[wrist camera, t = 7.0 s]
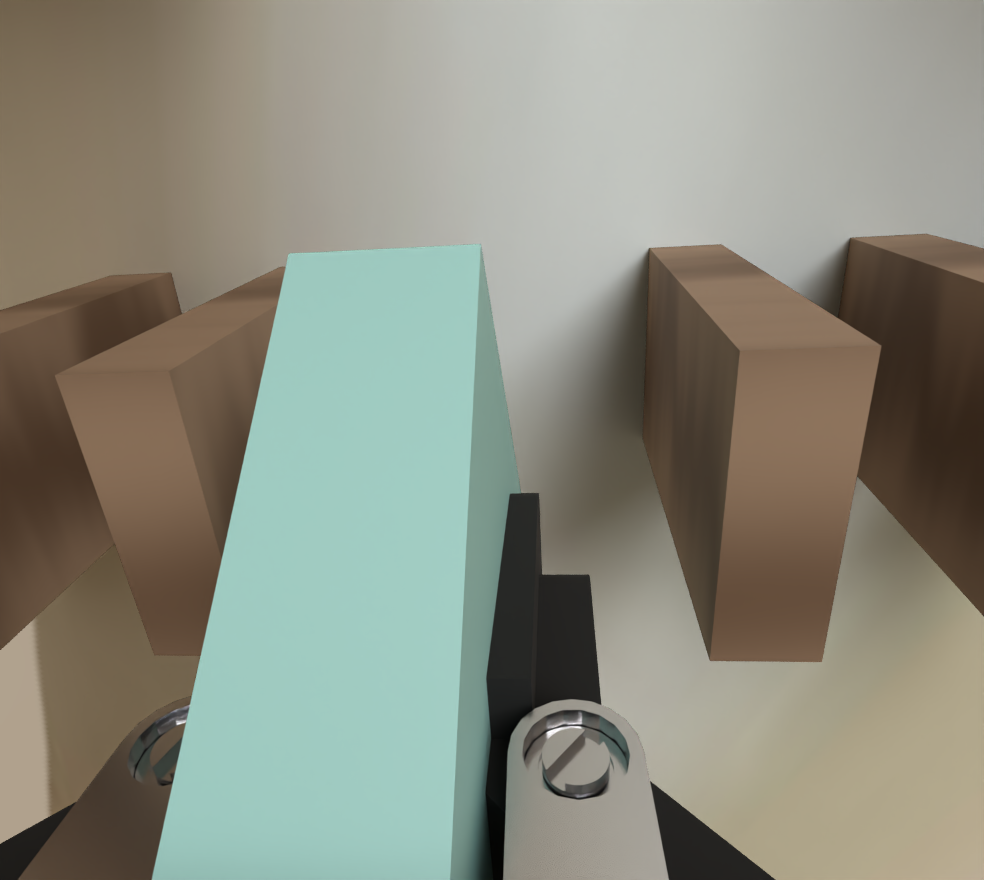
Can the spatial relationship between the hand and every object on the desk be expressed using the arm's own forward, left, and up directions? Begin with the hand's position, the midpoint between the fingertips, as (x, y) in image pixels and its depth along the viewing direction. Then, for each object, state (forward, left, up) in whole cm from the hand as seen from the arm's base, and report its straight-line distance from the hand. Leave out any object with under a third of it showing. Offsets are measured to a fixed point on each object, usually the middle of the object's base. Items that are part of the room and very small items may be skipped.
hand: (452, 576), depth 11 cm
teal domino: (+4, 0, -2) cm, 5 cm away
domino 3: (0, +5, -11) cm, 12 cm away
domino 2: (0, -6, -11) cm, 12 cm away
